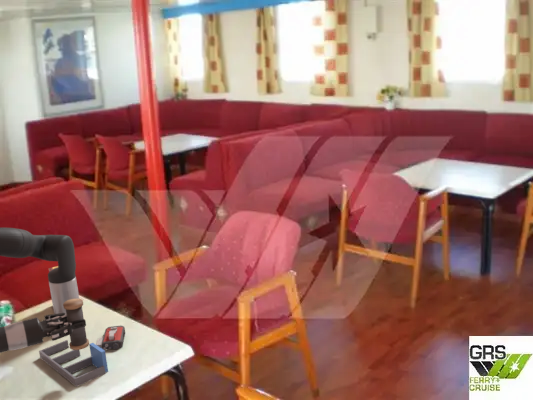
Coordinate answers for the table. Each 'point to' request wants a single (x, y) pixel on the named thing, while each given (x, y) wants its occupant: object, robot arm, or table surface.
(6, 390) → the table surface
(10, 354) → the table surface
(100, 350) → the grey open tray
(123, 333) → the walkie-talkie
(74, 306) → the cord spool
